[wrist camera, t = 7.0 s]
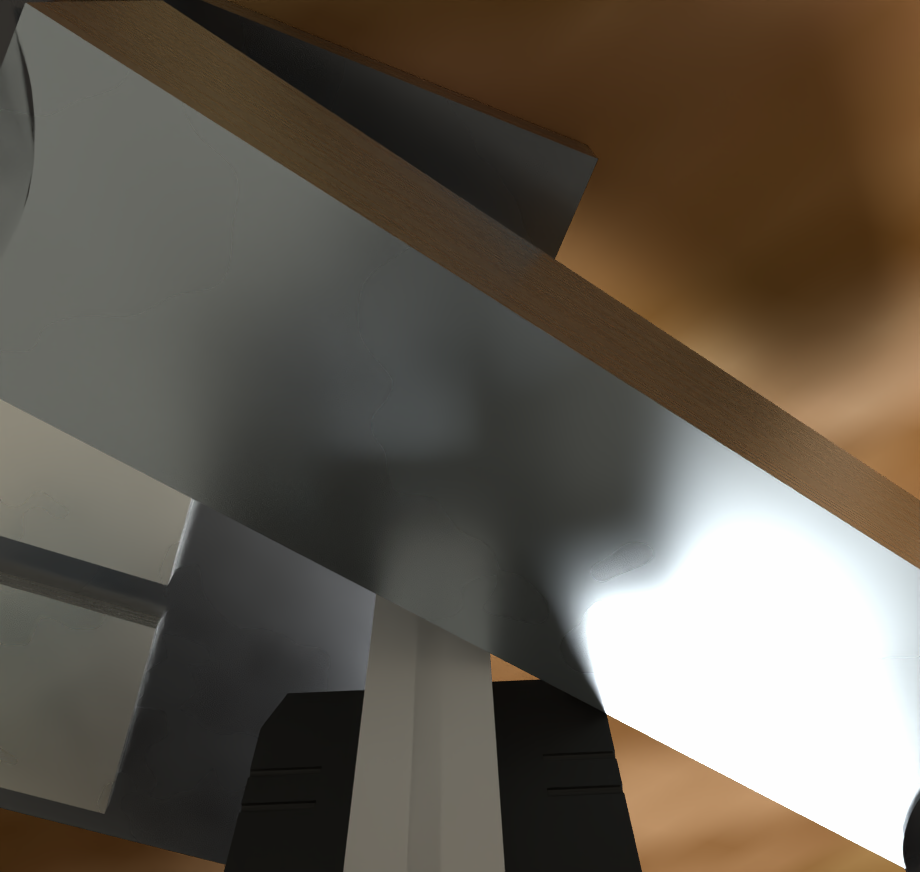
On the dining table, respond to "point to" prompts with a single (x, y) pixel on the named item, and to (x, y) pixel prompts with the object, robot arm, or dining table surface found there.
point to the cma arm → (445, 413)
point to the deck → (210, 526)
